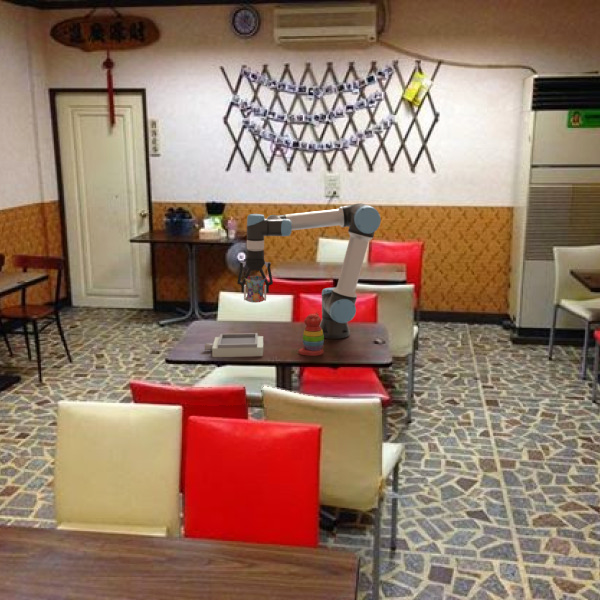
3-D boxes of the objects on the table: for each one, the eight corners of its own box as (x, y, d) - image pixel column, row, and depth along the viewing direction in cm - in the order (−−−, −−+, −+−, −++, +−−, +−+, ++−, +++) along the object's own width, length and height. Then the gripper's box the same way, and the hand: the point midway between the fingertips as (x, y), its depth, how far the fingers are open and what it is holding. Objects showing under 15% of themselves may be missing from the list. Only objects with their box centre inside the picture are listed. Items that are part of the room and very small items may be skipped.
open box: (263, 344, 309) (263, 333, 307) (263, 356, 292) (262, 344, 291) (206, 345, 308) (206, 334, 306) (203, 357, 291) (202, 345, 290)
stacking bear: (311, 347, 304) (311, 309, 299) (329, 351, 297) (329, 313, 293) (296, 353, 296) (295, 314, 291) (314, 357, 289) (314, 318, 285)
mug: (261, 304, 292) (261, 280, 290) (241, 302, 295) (241, 279, 292) (270, 298, 303) (270, 275, 301) (251, 296, 306) (251, 274, 303)
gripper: (279, 248, 298) (278, 298, 303) (231, 247, 297) (231, 297, 302) (279, 251, 290) (278, 302, 296) (230, 250, 290) (230, 301, 295)
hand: (255, 299), depth 299 cm, fingers closed on mug, 8 cm apart
